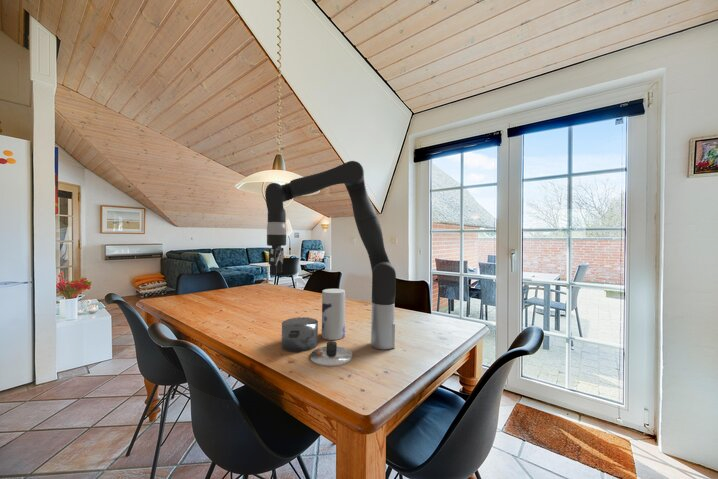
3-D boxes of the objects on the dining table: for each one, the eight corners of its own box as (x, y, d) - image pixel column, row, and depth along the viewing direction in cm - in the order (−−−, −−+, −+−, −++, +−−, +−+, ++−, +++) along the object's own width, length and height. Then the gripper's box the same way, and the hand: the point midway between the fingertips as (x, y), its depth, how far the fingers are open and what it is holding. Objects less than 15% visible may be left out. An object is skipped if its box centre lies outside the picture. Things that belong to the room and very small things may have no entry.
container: (316, 336, 121) (317, 290, 121) (334, 330, 129) (334, 287, 129) (332, 342, 115) (333, 293, 114) (349, 336, 122) (350, 290, 122)
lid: (353, 350, 108) (353, 336, 108) (350, 367, 93) (351, 352, 93) (314, 348, 108) (314, 335, 108) (306, 366, 93) (306, 350, 93)
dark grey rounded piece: (289, 335, 122) (290, 314, 122) (321, 336, 121) (321, 315, 121) (273, 355, 101) (273, 330, 101) (311, 356, 100) (312, 331, 100)
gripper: (281, 233, 105) (281, 276, 105) (289, 234, 120) (289, 271, 120) (261, 233, 105) (261, 276, 105) (271, 234, 119) (271, 272, 119)
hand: (276, 274), depth 112 cm, fingers open, 8 cm apart
